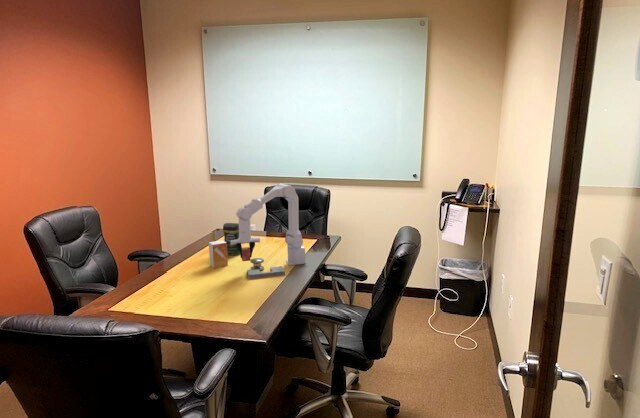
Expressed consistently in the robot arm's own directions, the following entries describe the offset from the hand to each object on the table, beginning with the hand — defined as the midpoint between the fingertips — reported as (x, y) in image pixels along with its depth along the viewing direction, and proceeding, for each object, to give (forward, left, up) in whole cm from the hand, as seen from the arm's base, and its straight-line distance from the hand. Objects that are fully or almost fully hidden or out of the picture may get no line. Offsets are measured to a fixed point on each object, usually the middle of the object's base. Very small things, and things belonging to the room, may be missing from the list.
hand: (246, 257), depth 217 cm
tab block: (0, 0, -2) cm, 2 cm away
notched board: (-9, +5, -8) cm, 13 cm away
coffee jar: (+4, -35, -9) cm, 37 cm away
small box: (+13, -16, -9) cm, 23 cm away
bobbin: (-6, -4, -8) cm, 11 cm away
